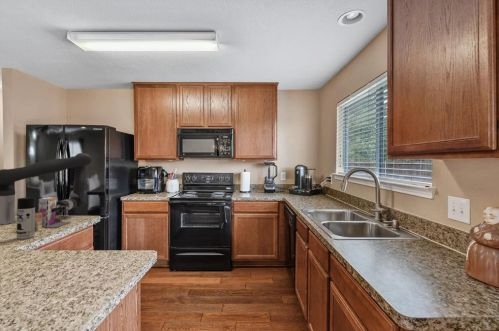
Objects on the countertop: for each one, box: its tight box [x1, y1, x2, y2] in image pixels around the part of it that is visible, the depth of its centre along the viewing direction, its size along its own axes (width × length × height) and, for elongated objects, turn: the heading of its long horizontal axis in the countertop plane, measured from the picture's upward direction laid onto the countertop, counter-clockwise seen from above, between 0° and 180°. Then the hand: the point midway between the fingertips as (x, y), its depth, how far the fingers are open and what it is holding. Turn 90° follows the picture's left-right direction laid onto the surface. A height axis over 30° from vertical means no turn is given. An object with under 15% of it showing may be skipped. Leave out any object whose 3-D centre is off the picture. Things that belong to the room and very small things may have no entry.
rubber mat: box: [44, 221, 71, 229], centre depth 149 cm, size 6×13×1 cm, turn 8°
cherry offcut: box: [35, 212, 42, 223], centre depth 139 cm, size 4×4×4 cm
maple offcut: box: [35, 221, 43, 230], centre depth 139 cm, size 4×4×4 cm
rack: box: [35, 217, 63, 233], centre depth 145 cm, size 9×22×4 cm, turn 8°
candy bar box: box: [37, 196, 58, 228], centre depth 148 cm, size 11×5×16 cm, turn 16°
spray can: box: [16, 196, 36, 240], centre depth 124 cm, size 7×7×20 cm
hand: (46, 210), depth 147 cm, fingers closed on candy bar box, 5 cm apart
